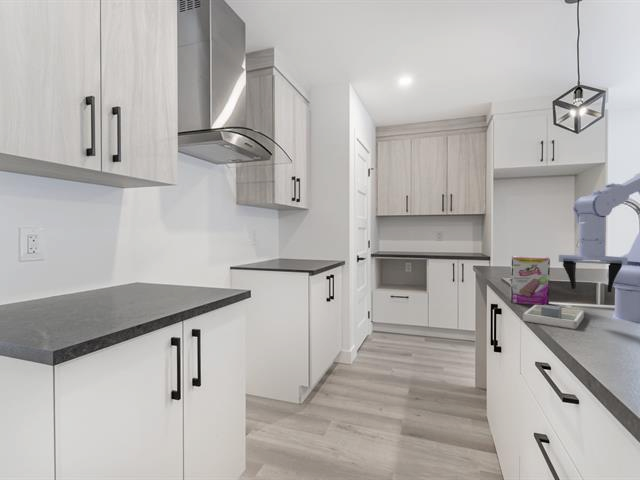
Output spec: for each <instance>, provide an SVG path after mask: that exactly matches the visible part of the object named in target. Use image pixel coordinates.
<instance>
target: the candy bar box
mask: <svg viewBox="0 0 640 480" xmlns="http://www.w3.org/2000/svg"><path fill="white" fill-rule="evenodd" d="M510 261H511V263H510V264H511V265H510V266H511V267H510V271H511V272H510V303H511V304H523V305H533V306H534V305H549V304H550V274H551V273H550V272H551V271H550V269H551V268H550V265H551V259H550V258H549V257H548V256H525V255H524V256H522V255H521V256H520V255H519V256H518V255H512V256H511V260H510Z"/></svg>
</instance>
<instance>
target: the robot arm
mask: <svg viewBox="0 0 640 480" xmlns="http://www.w3.org/2000/svg"><path fill="white" fill-rule="evenodd" d="M637 192H638V194H639V195H640V172H639V173H636V174H634V176H633V177H632V178H630V179H628V180H626V181H624V182H622V183H621V184H620V183H614V182H613V183H612V182H611V183H608V184H607V183H606V184H605V187H604V188H601V189H599V190H594V191H593V192H592V194H590V195H584V196H581V197H579V198H578V199H576V201H575V203H574V205H573V206H572V208H573V213H574V214H575V216H576V222H577V223H578V254H559V255H558V263H562V265H563V266H562V267H563V268H564V271H566V274H567V276H568V279H569V281H570V285H571V289H572V290H575V289H576V288H577V287H576V286H577V281H576V279H577V278H576V270H577V269H576V267H577V263H581V264H596V265H597V264H599V265H600V264H601V265H603V264H604V265H608V270H607V272H606V273H607V274H606V277H607V280H608V284H607V293H612V290H613V288H615V289H614V290H615V291H614V312H613V314H612V318H611V319H612V320H619V321H624V322H625V321H627V322H634V323H640V229H639V230H638V232H637V234H636V236H635V238H634V240H633V243H632V245H631V246H630V247H631V248H629V251H628V253H626V254H624V255H621V256H613V255H611V256H608V255H606V244H607V243H606V239H607V238H606V232H607V230H606V229H607V227H606V226H607V216H610V214H611V213H612V211H613V209H615V208H616V207H618V206H620V205H622V204H624V203H626V202H627V201H628V200H629V198H630V196H631V195H633V194H635V193H637Z"/></svg>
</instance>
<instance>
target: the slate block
mask: <svg viewBox="0 0 640 480" xmlns="http://www.w3.org/2000/svg"><path fill="white" fill-rule="evenodd" d="M561 308H562V306H557V305H543V306H542V307H541V316H545V317H552V318H559V319H561Z"/></svg>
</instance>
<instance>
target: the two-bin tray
mask: <svg viewBox="0 0 640 480" xmlns="http://www.w3.org/2000/svg"><path fill="white" fill-rule="evenodd" d="M542 306H543V305H533V306H532V307H530V308H529V309H528V310H526V311H524V312H523V313H522V322H528V323H533V324H534V323H535V324H542V325H546V326H547V325H548V326H552V327H553V326H554V327H561V328H567V329H573V330H577V329H578V327H580V324H581V323H582V321H583V319H584V318H585V311H584V310H582V309H576V308H575V309H574V308H567V307H566V308H565V307H561V319H559V318H552V317H545V316H541V307H542Z"/></svg>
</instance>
